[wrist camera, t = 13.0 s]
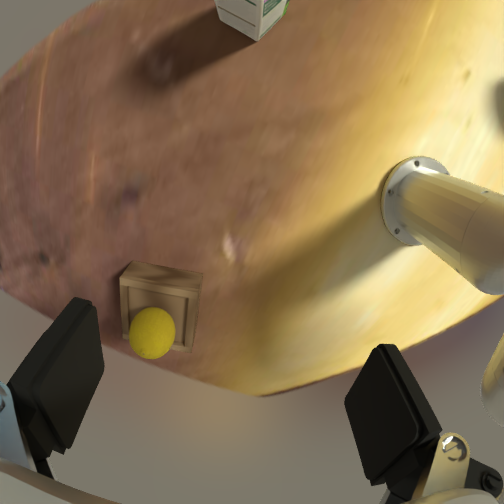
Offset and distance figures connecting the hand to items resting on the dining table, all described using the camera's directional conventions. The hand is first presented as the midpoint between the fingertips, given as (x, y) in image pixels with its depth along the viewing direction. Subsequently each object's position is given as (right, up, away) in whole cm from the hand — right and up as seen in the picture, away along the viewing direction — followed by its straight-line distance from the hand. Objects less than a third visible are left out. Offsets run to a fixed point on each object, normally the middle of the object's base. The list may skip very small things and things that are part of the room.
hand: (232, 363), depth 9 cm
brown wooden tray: (-12, -3, +32) cm, 34 cm away
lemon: (-11, -4, +28) cm, 31 cm away
